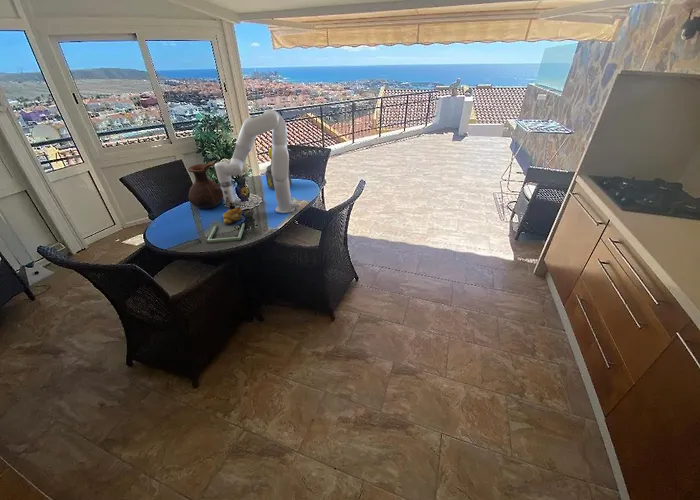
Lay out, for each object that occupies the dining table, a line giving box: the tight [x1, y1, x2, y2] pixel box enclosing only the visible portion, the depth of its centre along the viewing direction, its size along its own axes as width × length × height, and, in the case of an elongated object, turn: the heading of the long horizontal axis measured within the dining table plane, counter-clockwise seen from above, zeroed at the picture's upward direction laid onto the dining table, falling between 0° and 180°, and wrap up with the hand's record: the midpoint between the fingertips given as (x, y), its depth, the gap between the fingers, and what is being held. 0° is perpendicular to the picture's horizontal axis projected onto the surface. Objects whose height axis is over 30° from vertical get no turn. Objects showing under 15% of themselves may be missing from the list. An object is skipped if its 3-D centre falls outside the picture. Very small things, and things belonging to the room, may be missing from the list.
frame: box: [206, 222, 246, 244], centre depth 168 cm, size 17×17×2 cm
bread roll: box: [222, 206, 243, 225], centre depth 179 cm, size 13×10×8 cm
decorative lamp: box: [265, 147, 292, 191], centre depth 221 cm, size 19×19×30 cm
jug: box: [187, 160, 224, 210], centre depth 194 cm, size 22×22×30 cm
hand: (233, 211), depth 186 cm, fingers closed
